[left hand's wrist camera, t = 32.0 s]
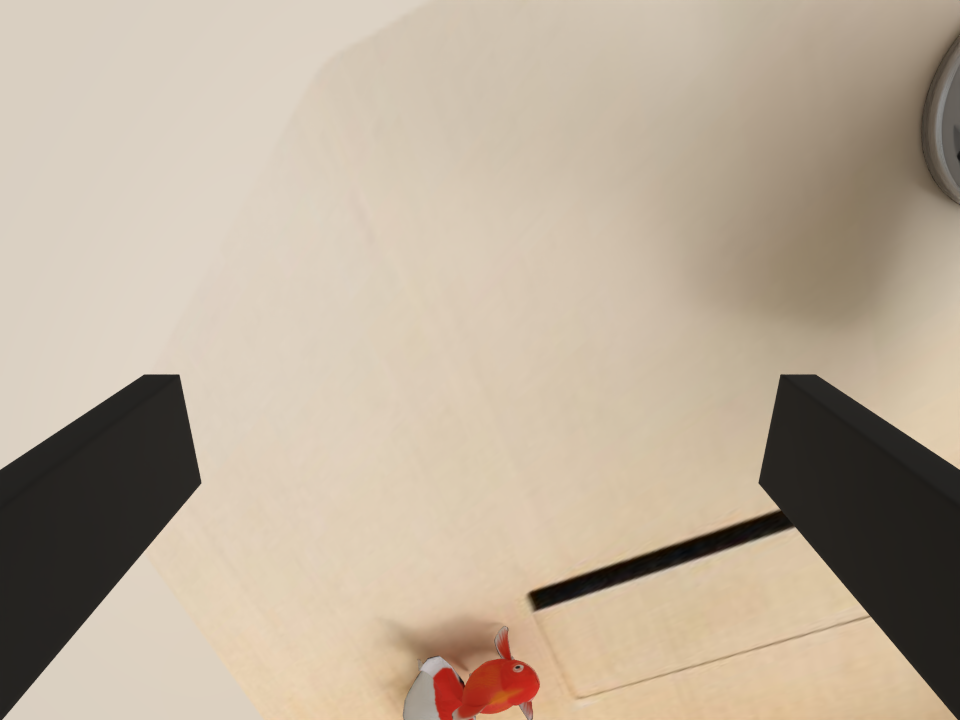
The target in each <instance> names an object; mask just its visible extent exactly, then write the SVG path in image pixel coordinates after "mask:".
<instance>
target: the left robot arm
mask: <svg viewBox="0 0 960 720" xmlns="http://www.w3.org/2000/svg"><path fill="white" fill-rule="evenodd" d="M922 144H923V151H924V156H925V160H926V163H927V166H928V168H929V171H930V173H931V175H932V177H933V179H934V180H935V182H936V183H937V184H938V186H939V187H940V188H941V189H942V191H943V192H944V193H945V194H946V195H948V196H949V197H950V198H951V199H952V200H954V201H955V202H957V203H959V204H960V35H959V36H958V38H957V39H956V40H955V42H954V43H953V45H952V46H951V47H950V49H949V50H948V52H947V54H946V55H945V57H944V58H943V60H942V62H941V64H940V66H939V68H938V70H937V72H936V74H935V76H934V79H933V81H932V83H931V86H930V89H929V92H928V95H927V99H926V103H925V107H924V113H923V121H922ZM200 484H201V478H200V473H199V468H198V463H197V458H196V454H195V449H194V444H193V439H192V434H191V429H190V424H189V419H188V414H187V409H186V405H185V400H184V395H183V390H182V385H181V380H180V375H143V376H141V377H140V378H138V379H137V380H135V381H134V382H132V383H131V384H129V385H128V386H126V387H125V388H123V389H122V390H120V391H119V392H117V393H116V394H114V395H113V396H111V397H110V398H108V399H107V400H105V401H104V402H102V403H101V404H99V405H98V406H96V407H95V408H93V409H91V410H90V411H88V412H87V413H86V414H84V415H82V416H81V417H79V418H78V419H76V420H75V421H73V422H72V423H70V424H69V425H67V426H66V427H64V428H63V429H61V430H60V431H58V432H57V433H55V434H54V435H52V436H51V437H49V438H48V439H46V440H45V441H43V442H42V443H40V444H39V445H37V446H36V447H34V448H33V449H31V450H30V451H28V452H27V453H25V454H24V455H22V456H21V457H19V458H18V459H16V460H15V461H13V462H11V463H10V464H8V465H7V466H5V467H4V468H2V469H1V470H0V720H2V719H3V718H4V717H5V716H6V715H7V713H8V712H9V711H10V710H11V709H12V708H13V706H14V705H15V704H16V703H17V702H18V700H19V699H20V698H21V697H22V696H23V694H24V693H25V692H26V691H27V690H28V689H29V687H30V686H31V685H32V684H33V683H34V681H35V680H36V679H37V678H38V677H39V675H40V674H41V673H42V672H43V671H44V670H45V668H46V667H47V666H48V665H49V664H50V662H51V661H52V660H53V659H54V658H55V656H56V655H57V654H58V653H59V652H60V651H61V649H62V648H63V647H64V646H65V645H66V643H67V642H68V641H69V640H70V639H71V637H72V636H73V635H74V634H75V633H76V631H77V630H78V629H79V628H80V627H81V626H82V624H83V623H84V622H85V621H86V620H87V618H88V617H89V616H90V615H91V614H92V613H93V611H94V610H95V609H96V608H97V607H98V605H99V604H100V603H101V602H102V601H103V599H104V598H105V597H106V596H107V595H108V594H109V592H110V591H111V590H112V589H113V588H114V586H115V585H116V584H117V583H118V582H119V580H120V579H121V578H122V577H123V576H124V574H125V573H126V572H127V571H128V570H129V569H130V567H131V566H132V565H133V564H134V563H135V561H136V560H137V559H138V558H139V557H140V556H141V554H142V553H143V552H144V551H145V550H146V548H147V547H148V546H149V545H150V544H151V542H152V541H153V540H154V539H155V538H156V537H157V535H158V534H159V533H160V532H161V531H162V529H163V528H164V527H165V526H166V525H167V523H168V522H169V521H170V520H171V519H172V518H173V516H174V515H175V514H176V513H177V512H178V510H179V509H180V508H181V507H182V506H183V504H184V503H185V502H186V501H187V500H188V499H189V497H190V496H191V495H192V494H193V493H194V491H195V490H196V489H197V488H198V487H199V485H200ZM759 484H760V485H761V487H762V488H763V489H764V490H765V491H766V493H767V494H768V495H769V496H770V497H771V499H772V500H773V501H774V502H775V503H776V504H777V506H778V507H779V508H780V509H781V510H782V512H783V513H784V514H785V515H786V516H787V518H788V519H789V520H790V521H791V522H792V523H793V525H794V526H795V527H796V528H797V529H798V531H799V532H800V533H801V534H802V535H803V537H804V538H805V539H806V540H807V541H808V542H809V544H810V545H811V546H812V547H813V548H814V550H815V551H816V552H817V553H818V554H819V556H820V557H821V558H822V559H823V560H824V561H825V563H826V564H827V565H828V566H829V567H830V569H831V570H832V571H833V572H834V573H835V575H836V576H837V577H838V578H839V579H840V580H841V582H842V583H843V584H844V585H845V586H846V588H847V589H848V590H849V591H850V592H851V594H852V595H853V596H854V597H855V598H856V599H857V601H858V602H859V603H860V604H861V605H862V607H863V608H864V609H865V610H866V611H867V613H868V614H869V615H870V616H871V617H872V618H873V620H874V621H875V622H876V623H877V624H878V626H879V627H880V628H881V629H882V630H883V632H884V633H885V634H886V635H887V636H888V637H889V639H890V640H891V641H892V642H893V643H894V645H895V646H896V647H897V648H898V649H899V651H900V652H901V653H902V654H903V655H904V656H905V658H906V659H907V660H908V661H909V662H910V664H911V665H912V666H913V667H914V668H915V670H916V671H917V672H918V673H919V674H920V675H921V677H922V678H923V679H924V680H925V681H926V683H927V684H928V685H929V686H930V687H931V689H932V690H933V691H934V692H935V693H936V694H937V696H938V697H939V698H940V699H941V700H942V702H943V703H944V704H945V705H946V706H947V708H948V709H949V710H950V711H951V712H952V713H953V715H954V716H955V717H956V718H957V719H958V720H960V470H959V469H958V468H956V467H955V466H953V465H952V464H950V463H949V462H947V461H946V460H944V459H943V458H941V457H940V456H938V455H936V454H935V453H933V452H932V451H930V450H929V449H927V448H926V447H924V446H923V445H921V444H920V443H918V442H917V441H915V440H914V439H912V438H911V437H909V436H908V435H906V434H905V433H903V432H902V431H900V430H899V429H897V428H896V427H894V426H893V425H891V424H890V423H888V422H887V421H885V420H884V419H882V418H881V417H879V416H878V415H876V414H875V413H873V412H872V411H870V410H868V409H867V408H865V407H864V406H862V405H861V404H859V403H858V402H856V401H855V400H853V399H852V398H850V397H849V396H847V395H846V394H844V393H843V392H841V391H840V390H838V389H837V388H835V387H834V386H832V385H831V384H829V383H828V382H826V381H825V380H823V379H822V378H820V377H819V376H817V375H780V380H779V385H778V390H777V395H776V400H775V405H774V409H773V414H772V419H771V424H770V429H769V434H768V439H767V444H766V449H765V454H764V458H763V463H762V468H761V473H760V478H759Z"/></svg>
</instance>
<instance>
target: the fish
mask: <svg viewBox="0 0 960 720" xmlns="http://www.w3.org/2000/svg"><path fill="white" fill-rule="evenodd" d="M495 646H496V648H497V651H498V653H499V655H500V657H501V658H502V659H496V660H491V661H487V662H485V663H484V664H482V665H481V666H480V667H478V668H477V669H476V670H475V671H474V672H473V673H472V674H471V673H470V674H469V676H470V677H469V679H468V681H467V683H466V685H464V682H463V681H462V679H461V678H460V677H459V675H458V674H457V673H456V671H455V670H454V669H453V667H452V666H451V665H450V664H449V663H447V662H446V661H445V660H444V659H443V658H441V657H440V656H435V657H431V658H428V659H427V660H426V662H425V663H424V664H423V663H422V661H421V660H419V659H418V667H419V671H421V672H420V674H419V675H418V676H417V678H416V680H415V682H414V683H413V685H412V687H411V689H410V690H409V692H408V694H407V696H406V699H405V703H404V710H403V719H404V720H476V717H475V716H476V715H477V714H479V713H482V714H494V713H499V712H501V711H504V710H507V709H508V708H510V707H511V706H513V705H519V707H520V708H521V710H522V711H523V713H524V715H525V716H526V718H527V719H528V720H532V719H533V710H532V702H531V701H532V700H533V699H534V697H535V695H536V694H537V692H538V690H539V687H540V682H539V678H538V675H537V674H536V672H535V670H534V669H533V668H532V667H530V666H529V665H528V664H526V663H524V662H521V661H517V660H514V657H513V656H511V654H510V649H509V642H508V628H507V627H505V626H503V627H502V628H501V629H500V631H499V632H498V634H497V636H496V637H495Z"/></svg>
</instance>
